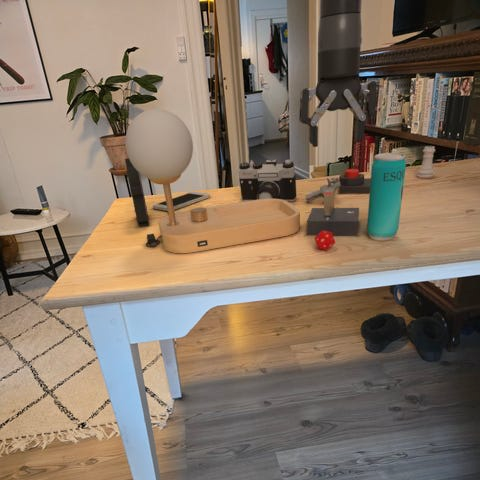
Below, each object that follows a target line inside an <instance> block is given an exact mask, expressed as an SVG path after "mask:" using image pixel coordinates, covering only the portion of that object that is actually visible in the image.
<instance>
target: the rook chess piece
mask: <svg viewBox="0 0 480 480" xmlns="http://www.w3.org/2000/svg"><path fill="white" fill-rule="evenodd" d="M422 152H423V155H422V162H421V165H420V167H419V169H418V170H417V174H416V176H417V178H419V179H431V178H433V177H434V176H435V174H434V173H435V170H434V165H433V160H434V159H433V158H434V156H435V155H434V153H436V148H435V146H434V145H426V146H424V148H423V149H422Z"/></svg>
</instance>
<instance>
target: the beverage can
mask: <svg viewBox="0 0 480 480" xmlns="http://www.w3.org/2000/svg"><path fill="white" fill-rule="evenodd" d="M405 157H406V155H405V154H404V153H401V152H384V153H378V154H375V155H374V157H373V158H374V160H373V162H372V163H371V169H370V170H371V171H370V178H371V183H370V193H369V195H368V196H369V197H368V210H367V221H366V222H367V223H366V230H367V234H368V237H369V239H370V240H372V241H373V240H374V241H377V242H387V241H391V240H393V239H394V238H395V236H396V234H397V232H398V230H399V225H400V216H401V209H402V202H403V201H402V200H403V193H404V184H405V175H406V169H407V163H406V160H405Z"/></svg>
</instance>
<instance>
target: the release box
mask: <svg viewBox="0 0 480 480" xmlns="http://www.w3.org/2000/svg"><path fill="white" fill-rule="evenodd" d="M338 179H339V181H340V185H341V186H340V187H339V188H338V194H370V183H371V177H367V178H365V174H363V173H361V172H359V177H354V178H348V177H345V173H342V174H340V175H339V177H338Z"/></svg>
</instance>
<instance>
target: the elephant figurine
mask: <svg viewBox="0 0 480 480" xmlns="http://www.w3.org/2000/svg"><path fill="white" fill-rule="evenodd" d="M326 180H327V184H323V185H321V186H320V187H319V189H317V190H314V191H312V192H310V193H307V194H304V196H305V200H306V202H307V203H311V202H313V201H314V200H316V199H319V198H323V199H324V195H325V193H326V191H327V189H328V188H329V187H335V191H336V190H337V189H339V187H340V186H341V185H340V181H339V177H331V176H329V177H326ZM322 204H324V201H323V203H322Z"/></svg>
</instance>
